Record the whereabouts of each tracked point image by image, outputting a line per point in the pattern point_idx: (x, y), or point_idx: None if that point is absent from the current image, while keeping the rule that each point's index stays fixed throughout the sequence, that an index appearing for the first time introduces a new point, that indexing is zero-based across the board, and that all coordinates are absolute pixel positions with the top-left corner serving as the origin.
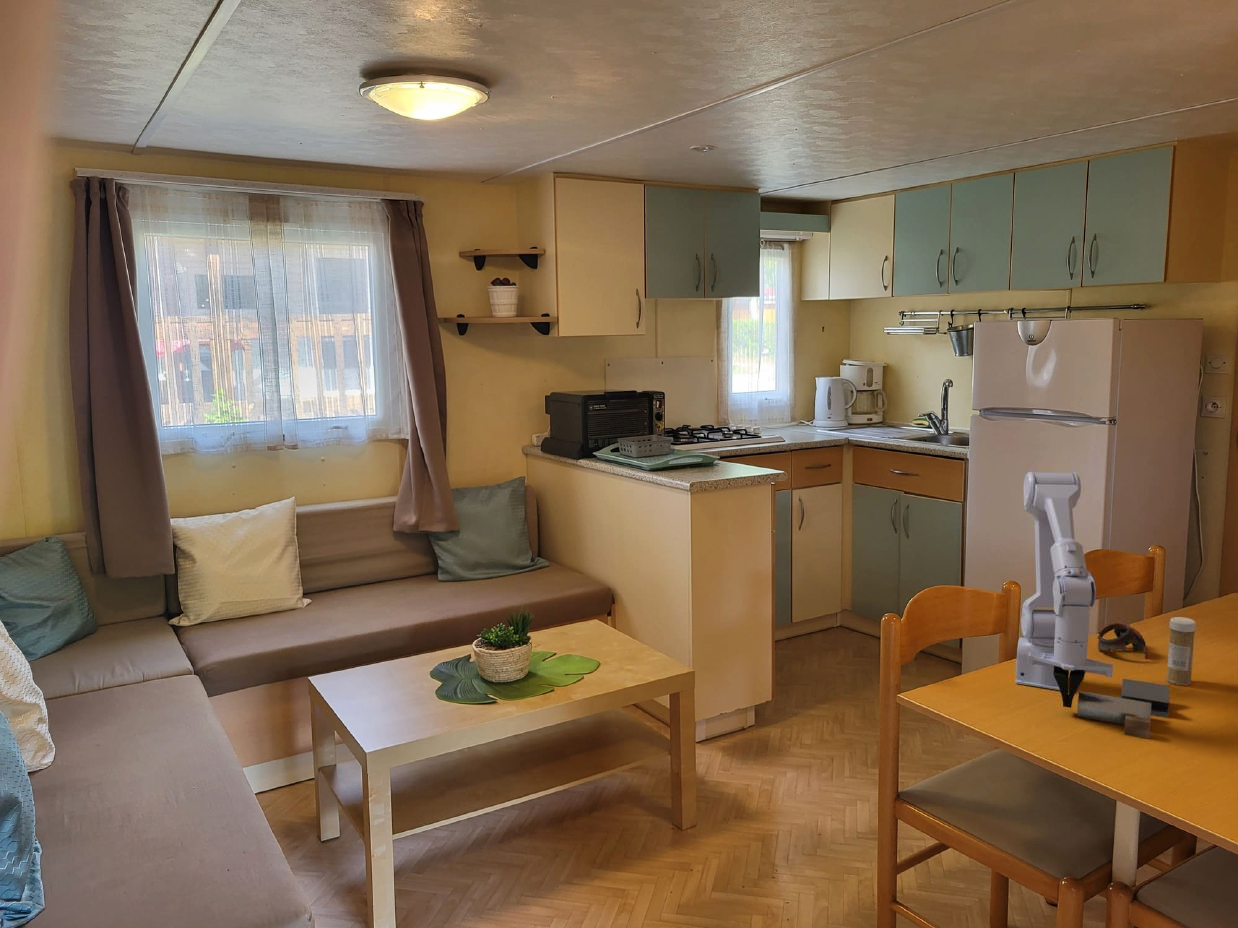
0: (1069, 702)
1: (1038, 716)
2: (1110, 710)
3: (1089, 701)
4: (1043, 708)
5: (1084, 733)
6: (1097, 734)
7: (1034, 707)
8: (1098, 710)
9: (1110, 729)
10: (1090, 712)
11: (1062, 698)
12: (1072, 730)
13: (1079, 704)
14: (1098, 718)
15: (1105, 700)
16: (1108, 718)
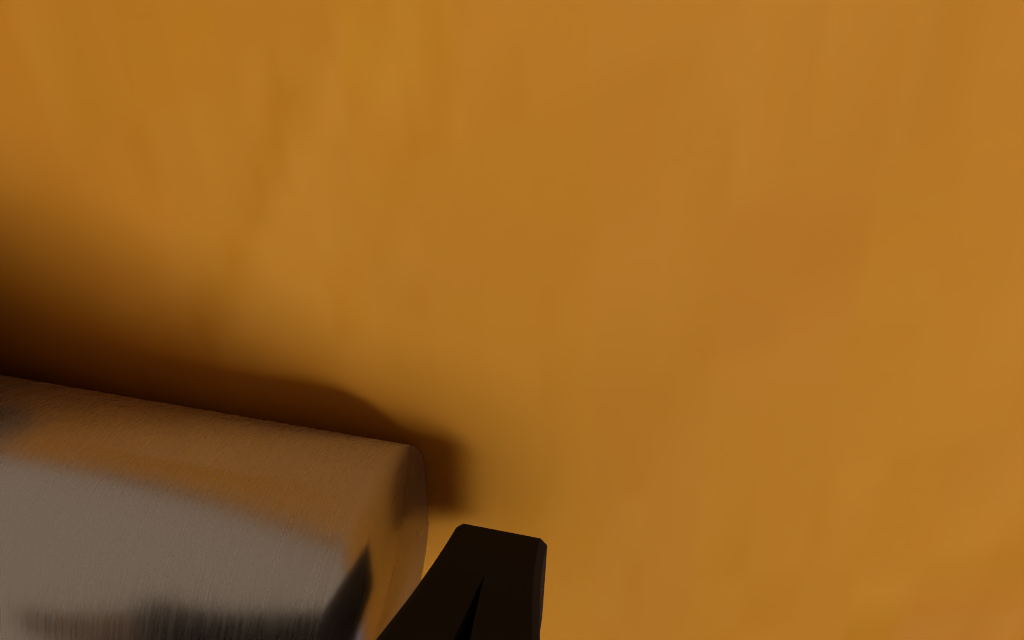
0: (452, 574)
1: (859, 362)
2: (4, 461)
3: (189, 577)
4: (760, 562)
5: (270, 14)
6: (139, 54)
7: (862, 569)
8: (133, 460)
9: (89, 255)
10: (240, 446)
11: (534, 630)
12: (422, 55)
13: (323, 532)
14: (208, 411)
15: (6, 596)
16: (98, 398)
